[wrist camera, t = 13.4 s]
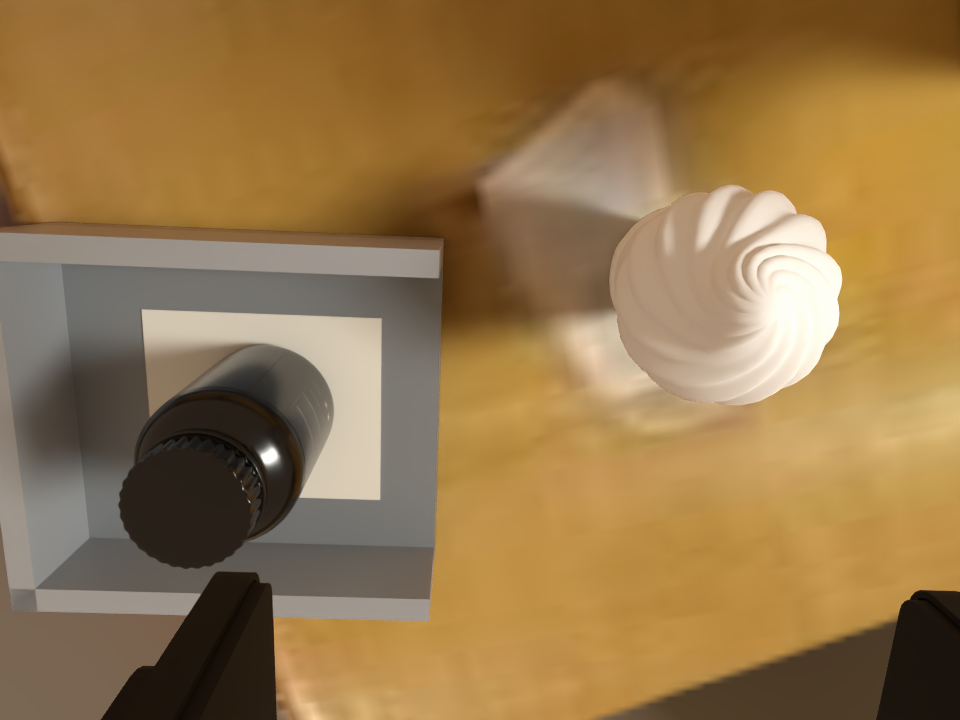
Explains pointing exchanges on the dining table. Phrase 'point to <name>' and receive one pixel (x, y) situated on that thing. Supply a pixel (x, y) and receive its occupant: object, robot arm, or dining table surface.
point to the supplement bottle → (226, 457)
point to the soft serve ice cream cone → (725, 295)
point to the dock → (183, 358)
